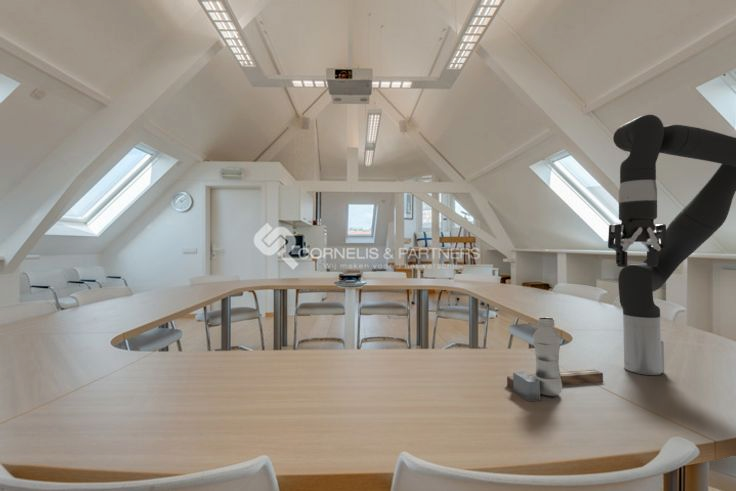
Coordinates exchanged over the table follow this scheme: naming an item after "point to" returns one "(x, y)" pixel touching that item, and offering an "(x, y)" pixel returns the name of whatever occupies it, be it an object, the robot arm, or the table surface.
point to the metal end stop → (526, 386)
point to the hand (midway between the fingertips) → (637, 266)
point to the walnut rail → (572, 377)
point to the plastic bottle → (547, 357)
